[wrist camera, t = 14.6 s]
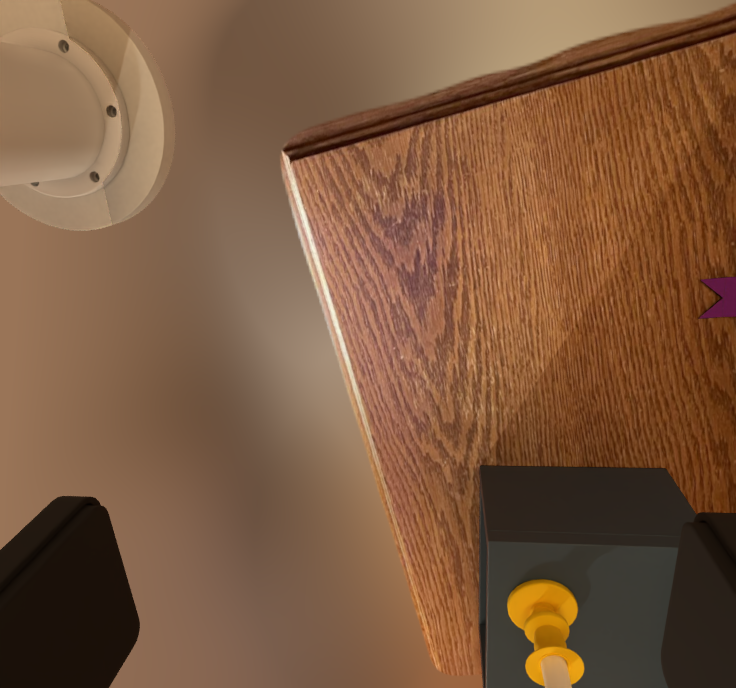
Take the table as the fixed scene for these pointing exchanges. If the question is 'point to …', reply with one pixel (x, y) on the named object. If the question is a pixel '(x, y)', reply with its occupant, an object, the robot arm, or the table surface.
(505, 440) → the table surface
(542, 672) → the candle
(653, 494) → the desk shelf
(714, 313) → the book
